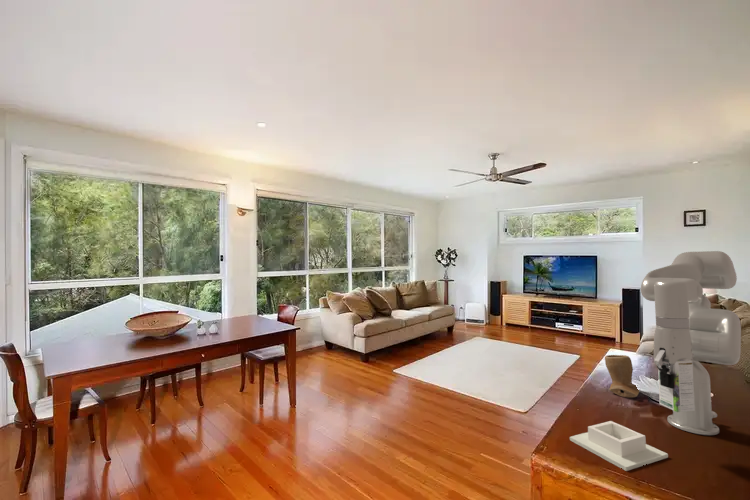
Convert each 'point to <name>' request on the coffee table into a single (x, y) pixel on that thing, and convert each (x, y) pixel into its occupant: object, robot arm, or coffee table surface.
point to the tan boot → (621, 375)
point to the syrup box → (679, 388)
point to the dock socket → (618, 445)
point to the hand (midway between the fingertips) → (675, 384)
